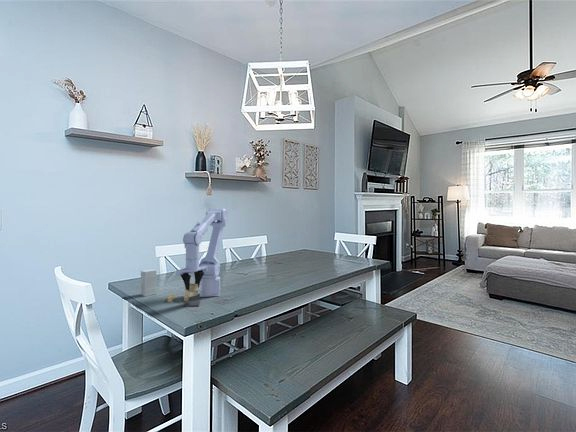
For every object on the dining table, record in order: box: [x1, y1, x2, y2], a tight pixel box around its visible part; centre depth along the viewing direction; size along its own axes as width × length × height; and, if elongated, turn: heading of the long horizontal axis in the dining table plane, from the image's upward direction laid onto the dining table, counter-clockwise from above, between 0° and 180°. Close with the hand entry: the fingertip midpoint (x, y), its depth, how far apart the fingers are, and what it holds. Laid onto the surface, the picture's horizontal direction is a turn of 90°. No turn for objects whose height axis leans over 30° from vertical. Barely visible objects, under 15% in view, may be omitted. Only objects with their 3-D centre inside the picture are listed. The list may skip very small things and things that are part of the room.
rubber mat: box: [183, 299, 201, 308], centre depth 132 cm, size 6×6×1 cm
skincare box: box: [140, 268, 158, 297], centre depth 145 cm, size 6×4×12 cm
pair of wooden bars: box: [167, 293, 190, 303], centre depth 138 cm, size 9×6×2 cm
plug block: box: [184, 282, 199, 298], centre depth 132 cm, size 4×4×5 cm
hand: (192, 288), depth 132 cm, fingers closed on plug block, 4 cm apart
